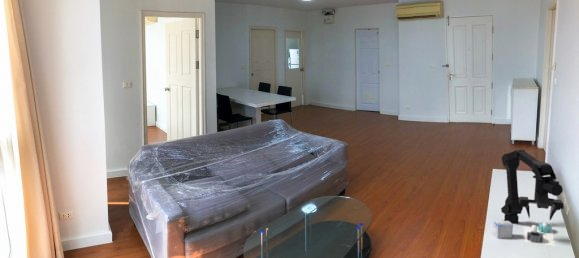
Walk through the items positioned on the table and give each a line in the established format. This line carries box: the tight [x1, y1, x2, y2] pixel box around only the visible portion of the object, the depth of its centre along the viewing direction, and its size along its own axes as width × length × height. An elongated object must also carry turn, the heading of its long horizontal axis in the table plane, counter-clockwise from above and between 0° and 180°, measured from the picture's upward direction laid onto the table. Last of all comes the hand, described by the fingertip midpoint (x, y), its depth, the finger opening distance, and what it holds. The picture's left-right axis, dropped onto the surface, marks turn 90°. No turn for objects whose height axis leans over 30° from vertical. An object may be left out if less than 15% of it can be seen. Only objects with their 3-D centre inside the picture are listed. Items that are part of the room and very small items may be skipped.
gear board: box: [523, 221, 556, 247], centre depth 220 cm, size 13×20×6 cm, turn 153°
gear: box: [527, 231, 543, 244], centre depth 216 cm, size 7×7×3 cm
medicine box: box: [492, 220, 514, 239], centre depth 221 cm, size 8×4×9 cm, turn 92°
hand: (539, 218), depth 214 cm, fingers open, 9 cm apart
